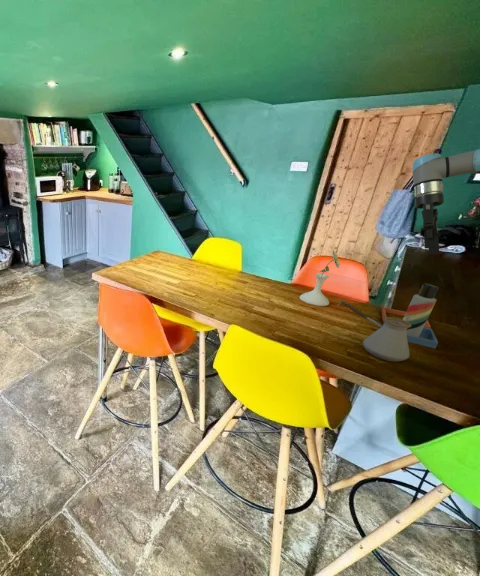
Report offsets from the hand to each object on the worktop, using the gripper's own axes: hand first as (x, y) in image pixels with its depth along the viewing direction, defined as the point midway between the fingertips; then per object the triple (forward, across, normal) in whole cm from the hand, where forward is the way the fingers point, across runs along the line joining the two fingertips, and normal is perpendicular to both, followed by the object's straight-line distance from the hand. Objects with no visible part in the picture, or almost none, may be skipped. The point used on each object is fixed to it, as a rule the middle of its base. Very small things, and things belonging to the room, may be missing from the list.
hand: (432, 250), depth 114 cm
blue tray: (+32, +10, -7) cm, 35 cm away
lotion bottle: (+32, +10, -7) cm, 34 cm away
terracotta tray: (+28, -3, -9) cm, 29 cm away
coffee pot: (+37, +33, -15) cm, 52 cm away
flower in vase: (+20, +5, -37) cm, 43 cm away
